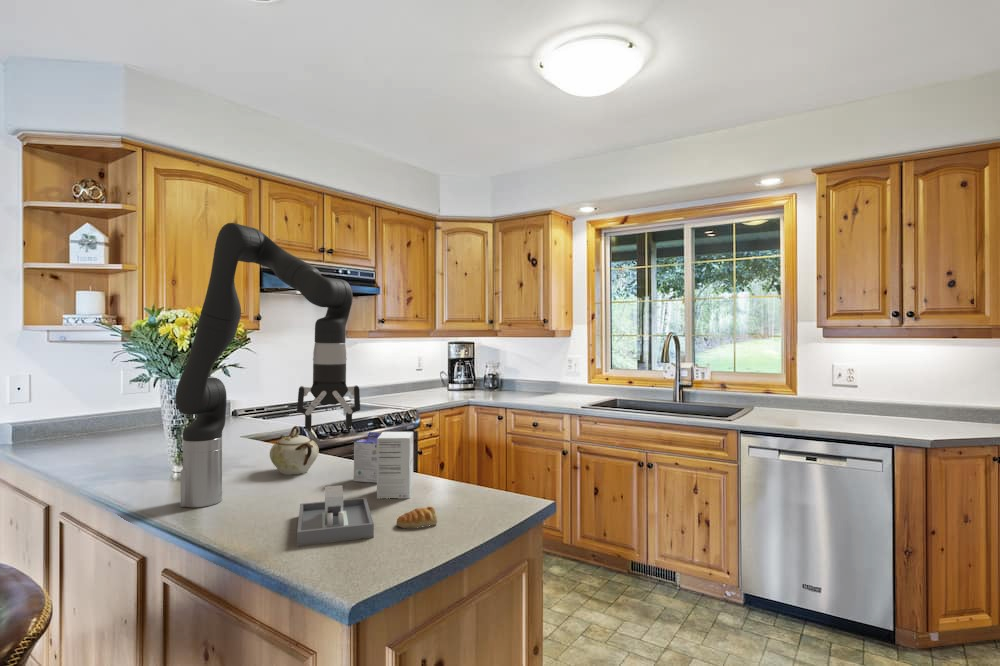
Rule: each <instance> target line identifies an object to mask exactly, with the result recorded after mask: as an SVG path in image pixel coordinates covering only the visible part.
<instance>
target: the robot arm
mask: <svg viewBox="0 0 1000 666" xmlns="http://www.w3.org/2000/svg"><path fill="white" fill-rule="evenodd" d="M212 258H213V259H212V265H211V272H210V276H209V281H208V285H207V288H206V289H207V290H206V293H205V297H204V301H203V303H202V304H203V305H202V308H201V310H200V314H199V318H198V323H197V325H196V326H197V327H196V330H195V335H194V339H193V342H192V345H191V349H190V351H189V355H188V358H187V361H186V364H185V366H184V368H183V371H182V373H181V377H180V378H179V381H178V384H177V386H176V390H175V396H174V398H175V399H174V400H175V405H176V408H177V410H178V411H179V412H180V413H181V414H184V415H186V416H187V415H188V416H189V415H190V416H191V415H196V418H195V419H194V420H193V422H192V423H190V424H189V425H187V426H186V427H184V429H183V430H182V468H181V470H180V508H185V507H186V508H202V507H209V506H214V505H216V504H218V503H220V502H221V501H223V430H224V428H225V426H226V419H227V417H226V416H227V399H228V397H227V391H226V386H225V384H224V382H222V380H221V379H219V378H217V377H214V376H213V377H212V376H211V377H210V374H211V371H212V368H213V366H214V365H215V364H216V363H217V360H218V359H219V357H221V356H222V355H223V354H224V352H225V351H226V350H227V349H228V347H229V346H230V345H231V344H232V342H233V341H234V338H235V337H236V334H237V331H238V328H239V324H240V320H241V317H242V308H241V307H242V306H241V302H240V300H239V296H238V292H237V289H236V285H235V284H236V283H235V278H236V277H235V276H236V271H237V267H238V263H239V262H242V263H248V264H249V263H253V264H256V265H261V266H263V267H266V268H268V269H270V270H271V271H273V273H274V274H275V276H276V278H277V279H279V280H280V281H281V282H283V284H286V285H287V286H289V287H290V288H292V289H294V290H295V291H298V293H299V292H300V294H301V295H302V296H303V297H304V298H305V299H306V300H307V301H308V302H309V303H311V304H312V305H315V306H317V307H320V308H327V310H326V313H325V315H324V316H323V317H321V318H318V319H317V320H316V321H315V324H314V346H313V353H312V354H313V356H312V361H313V362H312V385H311V387H310V386H308V387H307V386H303V385H301V386H299V388H298V396H297V407H296V412H297V413H298V414H299V413H301V414H303V415H304V427H305V429H307V431H308V432H311V431H312V412H313V411H314V410H315V409H316V408H317V406H319V405H322V406H328V405H333V406H334V405H335V406H336V405H338V404H340V406H341V407H342V408H343V409H344V410H345V412H346V413H345V430H347V431H348V430H350V428H352V426H353V414H354V413H356V412H360V410H361V400H360V399H361V398H360V387H359V386H358V385H354V386H348V385H347V360H348V358H347V347H346V336H347V335H346V333H347V332H346V329H347V328H346V326H347V322H348V320H349V316H350V312H351V308H352V305H353V298H354V295H353V290H352V287H351V285H350V284H349V282H348V281H346V280H344V279H340V278H334V277H333V278H332V277H327V276H323V275H322V274H321V271H320V270H319V269H317V268H316V267H315V266H313V265H311V264H309V262H306V261H304V260H303V259H301V258H299V257H297V256H295V255H294V254H291V253H289V252H288V251H286V250H284V249H283V248H282V247H280V246H279V245H278V244H277V243H275V242H274V241H273V240H272V239H271V238H270V237H268V236H267V235H266V234H265V233H263V232H262V231H261V230H259V229H257V228H255V227H250V226H247V225H244V224H239V223H237V222H236V223H235V222H228V223H226V224H224V225H223V226H221V229H219V232H218V234H217V237H216V240H215V244H214V251H213V257H212ZM348 392H349V393H350V395H351V396H353V402H354V403H353V406H350V405H349V403H348V402H347V401H346V399H345V398H344V397H345V396H346V395H347V393H348ZM308 393H311V394H312V396H313V398H314V399H313V400H312V401H311V402H310V404H309V405H308V407H304V402H305V401H304V399H305V397H307V396H308Z"/></svg>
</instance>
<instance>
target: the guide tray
mask: <svg viewBox="0 0 1000 666" xmlns="http://www.w3.org/2000/svg"><path fill="white" fill-rule="evenodd" d="M298 511H299V512H298V519H297V520H298V521H297V528H296V529H297V532H296V535H297V536H296V538H297V539H296V547H302V546H310V545H319V544H320V543H321V544H328V543H329V542H330V543H336V542H345V541H346V542H347V541H354V540H355V541H356V540H362V539H361V538H364V539H369V538H368V537H372V538H374V535H375V533H374V529H375V528H374V527H375V526H374V525H375V524H374V520H373V516H372V513H371V510H370V506H369V503H368V500H367V497H360V498H359V497H358V498H348V499H343V511H341V512H338V525H333V513H327V526H325V500H324V501H316V502H303V503H300V504H299V510H298Z"/></svg>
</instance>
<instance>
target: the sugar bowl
mask: <svg viewBox="0 0 1000 666" xmlns="http://www.w3.org/2000/svg"><path fill="white" fill-rule="evenodd" d="M294 432H295V434H294ZM299 432H300V430H299V426H298V425H294V426H293V427H292V429H291V430H290V433H289V435H284V434H283V435H282V434H281V435H280V436H279V438H278V440H276V441H275V443H274V444H273V445H272V446H271V448H270V450H269V458H270V461H271V462H272V464H273V465H274V467H275V468H276V470H278V471H279V472H280V474H281V473H282V475H284V474H285V476H292V475H291V474H297V475H302V474H306V473H307V471H308V472H309V470H310V469H311V467H312V465H313V464H314V463H315V461H316V459H317V458H318V456H319V453H320V451H319V450H320V449H319V446H318V444H317V443H316V442H315V441H314V440H313V439H312V438H311V437H308V436H305V435H300V434H299ZM305 472H306V473H305ZM301 473H302V474H301Z"/></svg>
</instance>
